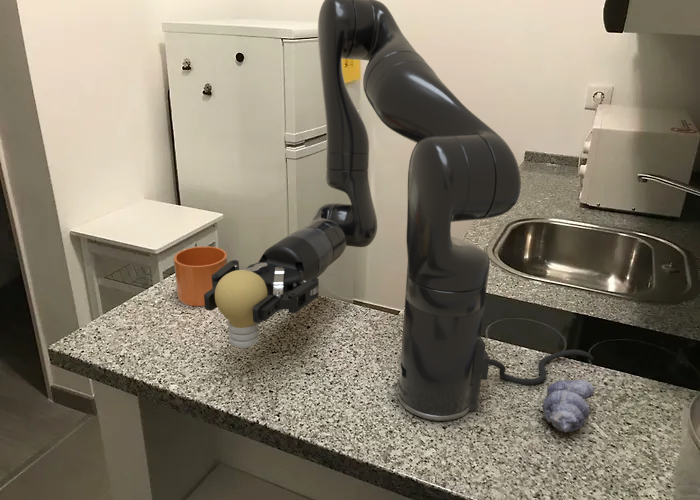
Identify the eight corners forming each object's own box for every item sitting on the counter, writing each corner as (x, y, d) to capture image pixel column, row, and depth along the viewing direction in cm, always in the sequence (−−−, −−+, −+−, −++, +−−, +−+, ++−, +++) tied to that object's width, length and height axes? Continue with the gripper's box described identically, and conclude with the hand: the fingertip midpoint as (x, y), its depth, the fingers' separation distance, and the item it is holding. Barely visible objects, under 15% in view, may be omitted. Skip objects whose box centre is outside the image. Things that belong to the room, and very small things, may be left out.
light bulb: (208, 348, 73) (201, 276, 70) (239, 326, 79) (235, 258, 75) (249, 362, 71) (245, 288, 67) (279, 338, 76) (276, 268, 72)
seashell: (561, 401, 76) (556, 454, 67) (540, 369, 75) (532, 417, 67) (601, 389, 73) (601, 441, 64) (579, 355, 72) (576, 403, 64)
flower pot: (231, 282, 102) (229, 245, 99) (226, 305, 94) (224, 266, 92) (182, 283, 101) (178, 246, 99) (173, 306, 94) (169, 267, 91)
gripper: (254, 227, 86) (180, 270, 72) (343, 244, 80) (281, 294, 66) (256, 273, 89) (185, 323, 74) (342, 293, 83) (283, 351, 69)
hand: (231, 309), depth 70 cm, fingers closed on light bulb, 6 cm apart
